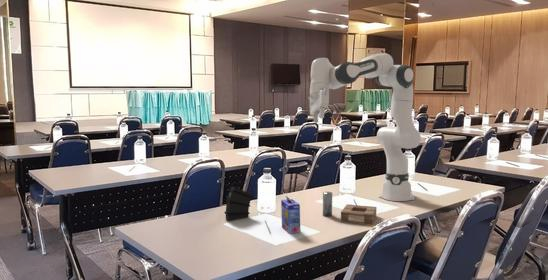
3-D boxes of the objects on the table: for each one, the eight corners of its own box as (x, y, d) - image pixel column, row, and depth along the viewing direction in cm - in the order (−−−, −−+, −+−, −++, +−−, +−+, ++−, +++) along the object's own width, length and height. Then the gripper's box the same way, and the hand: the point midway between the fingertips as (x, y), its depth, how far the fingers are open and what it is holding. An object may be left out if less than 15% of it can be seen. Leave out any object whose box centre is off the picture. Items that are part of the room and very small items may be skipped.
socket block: (346, 213, 218) (346, 204, 217) (376, 216, 213) (376, 206, 212) (340, 221, 204) (340, 212, 204) (372, 224, 199) (372, 215, 199)
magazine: (218, 216, 208) (230, 186, 210) (241, 224, 215) (253, 194, 217) (222, 218, 205) (234, 187, 207) (245, 226, 212) (257, 196, 213)
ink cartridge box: (280, 226, 198) (280, 194, 196) (292, 225, 199) (292, 193, 198) (288, 233, 188) (288, 199, 187) (300, 232, 190) (300, 198, 188)
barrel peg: (324, 213, 217) (324, 191, 216) (333, 214, 216) (333, 192, 215) (321, 216, 213) (321, 193, 212) (330, 217, 212) (331, 194, 211)
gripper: (332, 85, 201) (332, 115, 198) (320, 97, 221) (319, 125, 218) (319, 84, 200) (318, 114, 197) (307, 96, 220) (306, 124, 217)
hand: (318, 120), depth 208 cm, fingers open, 8 cm apart
